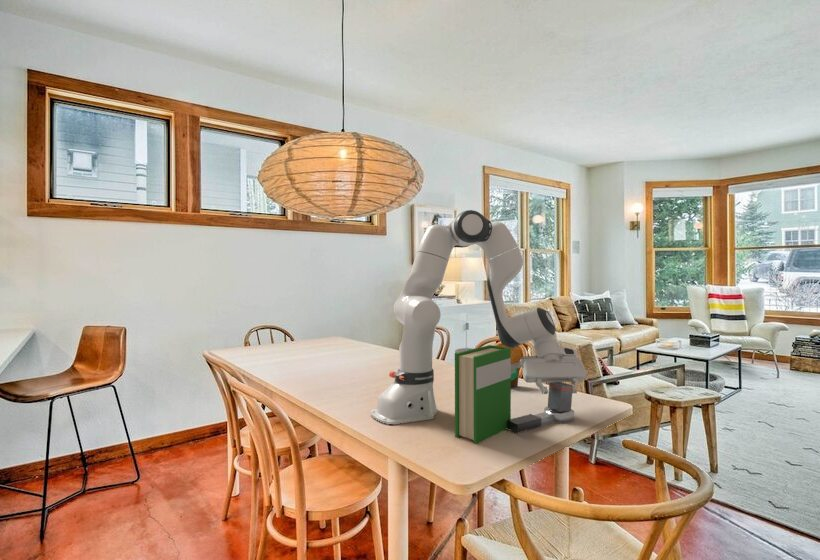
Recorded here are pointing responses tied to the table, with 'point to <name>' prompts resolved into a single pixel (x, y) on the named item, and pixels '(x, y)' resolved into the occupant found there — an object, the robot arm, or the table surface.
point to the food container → (514, 374)
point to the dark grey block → (560, 396)
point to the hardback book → (482, 392)
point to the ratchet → (539, 420)
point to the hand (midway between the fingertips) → (559, 392)
